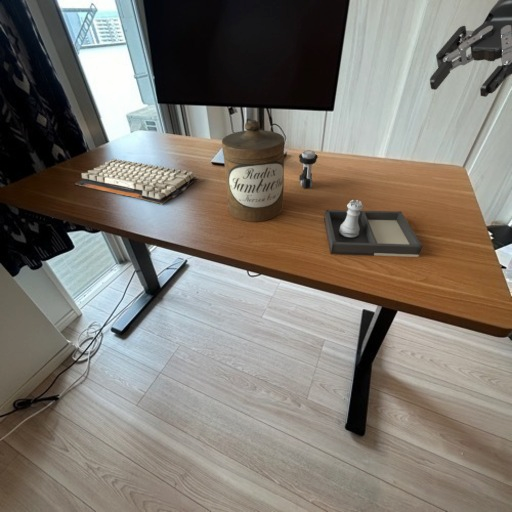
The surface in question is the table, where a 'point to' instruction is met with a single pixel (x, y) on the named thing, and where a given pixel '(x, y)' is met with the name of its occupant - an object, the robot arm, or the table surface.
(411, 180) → the table surface
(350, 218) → the rook chess piece
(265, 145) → the wooden container
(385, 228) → the sorting tray
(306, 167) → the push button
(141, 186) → the mechanical keyboard
